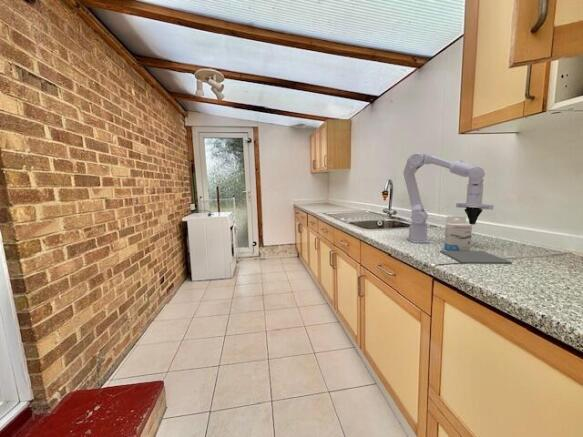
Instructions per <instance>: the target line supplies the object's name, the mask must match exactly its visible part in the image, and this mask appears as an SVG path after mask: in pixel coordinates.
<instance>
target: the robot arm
mask: <svg viewBox="0 0 583 437" xmlns="http://www.w3.org/2000/svg"><path fill="white" fill-rule="evenodd" d="M424 165H426V166H427V165H435V166H439V167H442V168H446V169H449V172H450V173H451V174H454V175H456V176H460V177H463V178H468V183H467V185H466V186H467V187H466V188H467V189H466V201H465V203H459V202H458V203H455V207H456V208H457V209H458V208H461V209H464V212H465V213H466V217H467V219H468V224H471V225H472V226H474V225H476V223H477V220H478V218H479V216H480V215H481V213H482V212H483V210H489V211H491V210H494V204H486V203H485V204H483V196H484V194H483V193H484V192H483V191H484V177H485V175H486V173H485V170H484V168H482V167H480V166H475V164H473V163H472V164H469V163H466V162H464V161H463V160H455V161H453V162H452V161H449V160H447V159H443V158H442V157H441V158H440V157H439V156H435V155H432V154H427V153H421V152H413V153H412V154H411V155H410V156H408V158H407V159H406V163H405V167H404V169H403V177H404V182H405V186H406V190H407V193H408V198H409V201H410V205H411V217H410V219H411V221H412V222H411V224H410V225H409V227H408V237H407V238H406V240H408V241H410V242H411V243H415V244H416V243H417V244H423V243H424V244H425V243H427V244H428V243H429V244H430V243H431V242H430V241H429V240H427V238H428V223H427V219H429V218H428V217H429V216H428V212H427V211H425V209H424V206H423V203H422V200H421V195H420V194H421V193H420V191H419V187H418V182H417V179H416V175H415V174H416V172H417V171H418V170H419V169H420V168H421V167H422V166H424Z"/></svg>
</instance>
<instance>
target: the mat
mask: <svg viewBox="0 0 583 437" xmlns="http://www.w3.org/2000/svg"><path fill="white" fill-rule="evenodd" d="M439 253H441V254H443V255H445V256H446V257H449V258H450V259H453V260H454V261H456V262H459V263H460V264H466V265H468V264H469V265H470V264H471V265H472V264H475V265H476V264H478V265H480V264H482V265H483V264H484V265H485V264H486V265H487V264H490V265H491V264H493V265H495V264H497V265H500V264H502V265H505V264H507V265H512V264H513V262H512V261H511V260H508V259H506V258H502V257H500V256H496V255H494V254H492V253H489V252H486V251H484V250H470V251H448V250H439Z"/></svg>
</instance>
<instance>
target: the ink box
mask: <svg viewBox="0 0 583 437" xmlns="http://www.w3.org/2000/svg"><path fill="white" fill-rule="evenodd" d="M456 219H457V220H456ZM458 219H459V220H458ZM445 222H446V223H445V228H444V245H443V246H444V247H443V249H444V250H445V251H471V247H472V246H471V243H472V231H473V225H472V224H469V223H466V222H467V216H466V215H465V216H464V215H462V216H461V215H460V216H457V215H456V216H455V215H454V216H453V215H452V216H451V215H449V216H446V220H445Z"/></svg>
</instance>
